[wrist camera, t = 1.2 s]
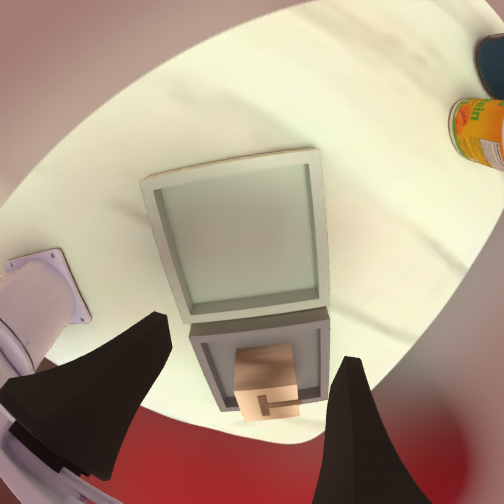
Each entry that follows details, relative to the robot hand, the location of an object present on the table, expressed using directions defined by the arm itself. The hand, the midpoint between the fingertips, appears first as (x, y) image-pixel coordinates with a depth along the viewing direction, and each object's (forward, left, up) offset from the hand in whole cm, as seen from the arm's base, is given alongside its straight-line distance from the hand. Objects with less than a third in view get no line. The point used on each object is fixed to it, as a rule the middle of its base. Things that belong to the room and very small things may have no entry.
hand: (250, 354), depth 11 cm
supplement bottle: (+19, +7, -12) cm, 24 cm away
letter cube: (-1, -13, -11) cm, 17 cm away
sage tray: (-1, 0, -11) cm, 11 cm away
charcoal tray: (-1, -13, -11) cm, 17 cm away
